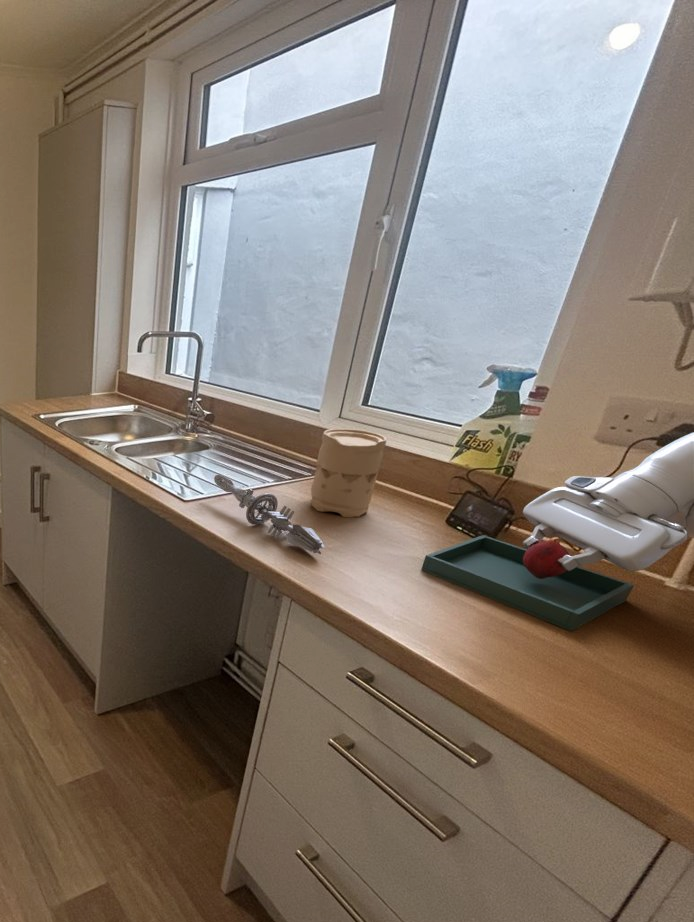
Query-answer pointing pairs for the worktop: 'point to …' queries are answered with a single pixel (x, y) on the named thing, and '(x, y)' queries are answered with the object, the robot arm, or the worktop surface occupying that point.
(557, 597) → the tray
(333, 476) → the container
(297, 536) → the spaceship
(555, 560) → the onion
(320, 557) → the worktop surface
